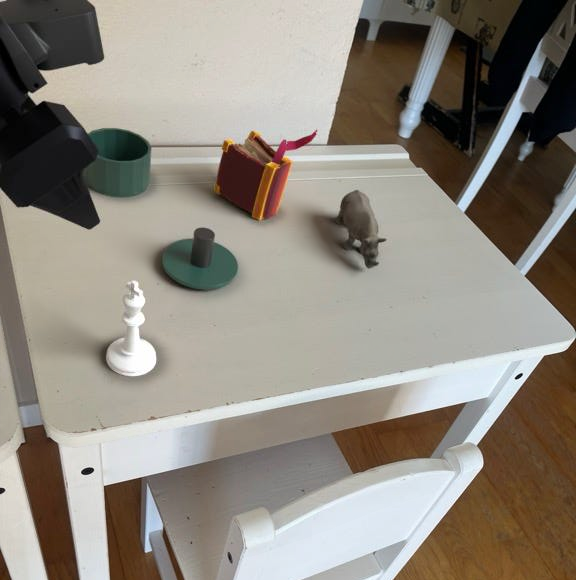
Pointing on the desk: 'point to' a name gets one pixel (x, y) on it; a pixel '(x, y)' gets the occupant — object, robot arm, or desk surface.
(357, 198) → the rhino figurine
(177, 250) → the pot lid
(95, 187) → the pot
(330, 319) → the desk surface
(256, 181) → the book monster
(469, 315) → the desk surface
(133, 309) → the chess piece
